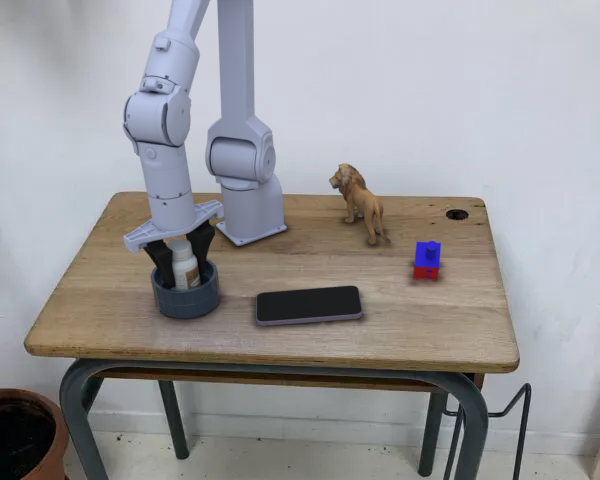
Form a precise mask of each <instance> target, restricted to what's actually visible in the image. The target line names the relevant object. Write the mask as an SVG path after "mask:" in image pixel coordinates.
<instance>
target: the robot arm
mask: <svg viewBox="0 0 600 480" xmlns="http://www.w3.org/2000/svg"><path fill="white" fill-rule="evenodd" d="M210 2H211V0H171V5H170V10H169V15H168V20H167V25H166V29H163V30H161V31H158V32H157V33H156V34H155V35H154V36H153V40H152V43H151V47H150V50H149V53H148V57H147V60H146V64H145V67H144V69H143V74H142V76H141V80H140V84H139V88H138V90H137V91H134V92H133V94H130V95H129V96H128V97H127V99H126V100H125V102H124V106H123V111H122V119H123V121H122V129H123V133H124V134H125V136H126V137H127V139H128V140H129V141H130V142H131V143H132V144H131V145H132V148H133V153H134V154H135V155H136V156H137V157H139V161H140V165H141V169H142V174H143V180H144V186H145V190H146V195H147V200H148V204H149V210H150V214H151V218H150V219H148V220H147V221H145V222H144V223H143V224H141V225H140V226H138V227H137V228H136V229H134V230H133V231H131V232H129V233H127V234H125V235H123V236H122V237H123V242H124V247H125V249H126V250H127V251H128V252H129V253H131V254H132V255H136V254H138V253H140V252H141V249H143V250H144V252H145V253H146V254H147V255H148V257H149V258H150V260H151V261H152V263H154V265H155V267H157V269H158V270H159V272H160V274H161V277H162V279H163V281H164V283H165V284H166V285H167V286H169V287H170V288H173V287H175V278H174V273H173V267H172V255H173V251H172V250H171V249H170V248H168V247H167V246H166V245H167V242H164V240H165V239H170V238H175V237H180V236H184V235H185V239H186V240H188V241H190V243H191V247H192V254H194V255H195V256H196V258H197V263H198V269H199V274H200V275H202V274H204V273H205V265H206V258H207V257H208V254H209V249H210V247H211V244H212V242H213V240H214V238H215V236H216V229H215V226H216V228H217V229H218V230H219V231H220V232H221V233H222V234H223V235H224V236H225V237H227V239H228V240H230V241H231V243H233V244H234V245H235V246H236V247H240V246H244V245H247V244H250V243H253V242H256V241H258V240H261V239H263V238H267V237H269V236H270V237H271V236H272V235H276V234H278V233H281V232H284V231H286V230H287V228H288V227H287V225H285V213H284V195H283V189H282V185H281V182H280V180H279V178H278V176H277V175H276V174H275V168H276V163H277V161H276V160H277V159H276V158H277V155H276V149H275V145H274V134H273V130H272V129H271V128H270V127H269V126H268V125H267V124H265V123H264V122H263V120H261V119H260V118H259V117H258V116H256V114H255V112H256V111H255V108H256V107H255V27H254V26H255V25H254V24H255V23H254V22H255V19H254V18H255V16H254V15H255V14H254V0H216V6H217V32H218V35H217V36H218V59H219V60H218V62H219V88H220V89H219V90H220V91H219V92H220V115H221V116H220V117H219V118H218V119H217V120H216V121H214V122H213V123H212V124H211V125H210V126H209V127H208V129H207V134H206V135H207V137H206V138H207V139H206V147H205V151H204V160H205V162H204V163H205V166H206V170H207V171H208V173H209V174H210V175H211V176H212V177H215V184H219V185H220V192H221V201H222V202H220V201H218V200H217V199H212V200H209V201H206V202H201V203H196V204H195V203H194V197H193V190H192V185H191V184H192V183H191V178H190V171H189V164H188V163H189V162H188V158H187V151H186V150H187V149H186V144H185V142H186V140H187V138H188V135H189V132H190V130H191V121H192V120H191V108H192V99H191V97H190V96H189V95H190V93H191V88H192V85H193V82H194V78H195V76H196V72H197V68H198V64H199V61H200V58H201V53H200V49H199V48H198V46H197V44H196V42H195V41H196V38H197V36H198V33H199V31H200V28H201V26H202V23H203V20H204V18H205V14H206V13H207V10H208V7H209V5H210ZM213 219H217V220H219V219H224V220H223V221H220V222H218V223H216V224H215V226H214V225H212V224H211V223H210V220H213ZM207 259H208V258H207Z"/></svg>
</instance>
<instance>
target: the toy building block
mask: <svg viewBox="0 0 600 480" xmlns="http://www.w3.org/2000/svg"><path fill="white" fill-rule="evenodd" d="M441 249H442V243H441V242H437V241H435V240H429V241H416V243H415V252H414V265H413V276H412V279H419V280H421V279H422V280H436V281H437V280H438V277H439V271H440V265H441V264H440V262H441Z"/></svg>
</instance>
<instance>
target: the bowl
mask: <svg viewBox="0 0 600 480" xmlns="http://www.w3.org/2000/svg"><path fill="white" fill-rule="evenodd" d="M199 276H200V283H201V286H199V287H196V288H194V289H189V290H183V291H182V290H171V289H170V287H169V286H167V285H166V284H165V283H164V281H163V279H162V277H161V274H160V272H159V270H158V269H157V267H156V266H155V267H154V268H153V269H152V271H151V273H150V276H149V277H150V283H151V287H152V291H153V297H154V301H155V305H156V308H157V309H158V310H159V311H160V313H162V314H163V315H166V316H168V317H172V318H174V319H175V318H176V319H193V318H197V317H201V316H203V315H205V314H208V312H211V311H212V310H214V309H215V308H216V307H217V306H218V304H219V303H220V301H221V296H222V295H221V288H220V280H219V273H218V269H217V265H216V263H214V262H213V261H212V260H211V259H209V258H206V265H205V273H204V274H202V275H200V274H199Z"/></svg>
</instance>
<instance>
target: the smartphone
mask: <svg viewBox="0 0 600 480" xmlns="http://www.w3.org/2000/svg"><path fill="white" fill-rule="evenodd" d="M361 299H362V298H361V293H360V289H359V288H358V286H356V285H353V284H351V285H339V286H326V287H313V288H302V289H301V288H300V289H290V290H287V289H286V290H277V291H276V290H275V291H274V290H273V291H264V292H260V293H257V295H256V296H255V320H256V324H257V325H259V326H261V327H267V326H269V327H270V326H279V325H281V326H282V325H294V324H304V323H306V324H307V323H317V322H319V323H320V322H330V321H331V322H332V321H343V320H355V319H360V318H361V317H362V316H363V304H362V300H361Z"/></svg>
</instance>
